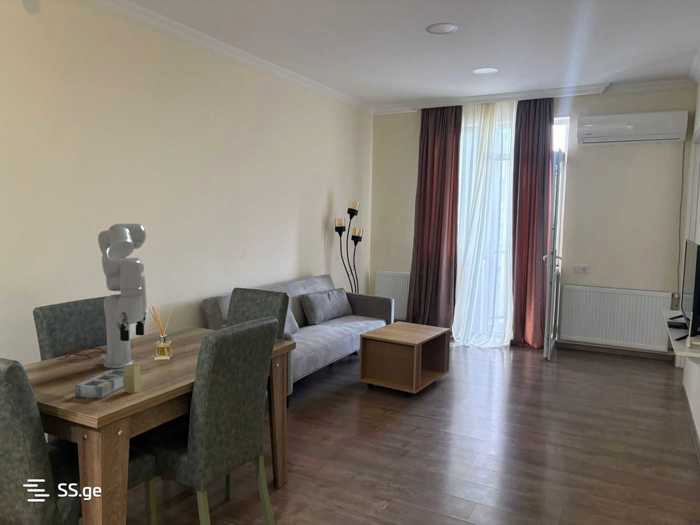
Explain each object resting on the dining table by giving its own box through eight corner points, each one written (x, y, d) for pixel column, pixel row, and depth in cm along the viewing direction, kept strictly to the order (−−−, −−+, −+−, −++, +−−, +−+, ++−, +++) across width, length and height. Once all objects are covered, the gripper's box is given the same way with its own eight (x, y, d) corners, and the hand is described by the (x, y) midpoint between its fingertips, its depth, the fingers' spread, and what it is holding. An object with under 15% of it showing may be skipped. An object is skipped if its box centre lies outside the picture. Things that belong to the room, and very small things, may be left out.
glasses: (79, 352, 257) (79, 342, 257) (106, 353, 257) (105, 342, 256) (64, 359, 244) (63, 349, 244) (91, 360, 243) (91, 349, 243)
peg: (124, 392, 198) (124, 366, 197) (131, 389, 202) (130, 363, 201) (134, 393, 197) (133, 367, 196) (140, 389, 201) (140, 364, 200)
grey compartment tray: (75, 397, 191) (74, 385, 191) (113, 379, 213) (112, 368, 213) (99, 399, 190) (99, 387, 189) (135, 381, 211) (135, 370, 211)
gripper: (135, 289, 206) (136, 332, 207) (107, 295, 189) (109, 342, 190) (153, 290, 204) (154, 333, 206) (126, 296, 187) (127, 343, 189)
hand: (132, 337), depth 198 cm, fingers open, 9 cm apart
